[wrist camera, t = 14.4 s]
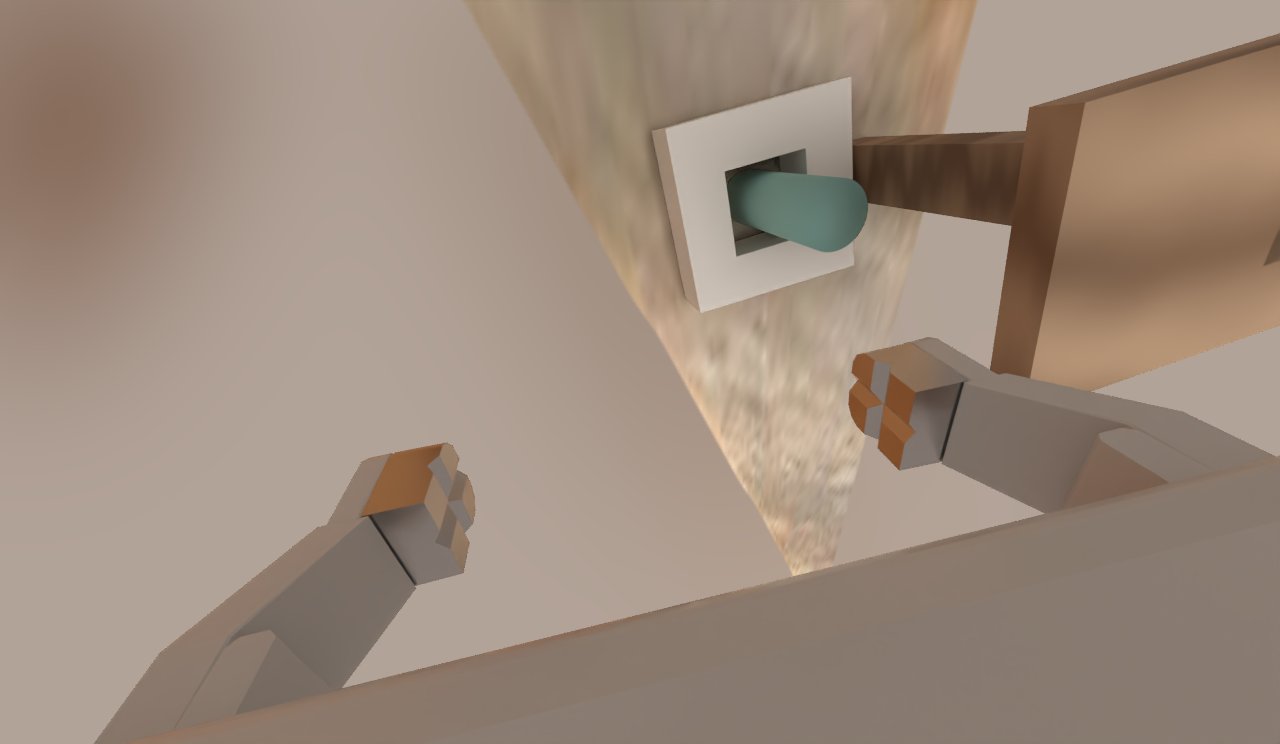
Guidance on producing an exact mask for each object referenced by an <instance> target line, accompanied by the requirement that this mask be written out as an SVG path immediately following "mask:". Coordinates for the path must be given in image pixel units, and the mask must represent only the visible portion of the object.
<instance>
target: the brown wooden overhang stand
mask: <svg viewBox="0 0 1280 744" xmlns="http://www.w3.org/2000/svg"><path fill="white" fill-rule="evenodd" d="M852 160H853V180H854V181H856V182H857V183H858V184H859V185H860V186H861V187H862V188H863V190H864V192H865V194H866V197H867V202H868V203H872V204H878V205H884V206H890V207H897V208H903V209H909V210H916V211H922V212H928V213H935V214H941V215H947V216H953V217H960V218H966V219H972V220H978V221H985V222H991V223H997V224H1003V225H1010V226H1012V227H1011V234H1010V240H1009V247H1008V254H1007V260H1006V267H1005V274H1004V281H1003V287H1002V294H1001V300H1000V307H999V314H998V321H997V327H996V334H995V340H994V347H993V354H992V361H991V367H990V370H991V371H993V372H994V373H996V374H998V375H999V374H1004V373H1008V374H1012V375H1017V376H1022V377H1026V378H1031V379H1035V380H1040V381H1044V382H1049V383H1054V384H1058V385H1063V386H1067V387H1072V388H1077V389H1081V390H1086V391H1093V390H1096V389H1099V388H1102V387H1105V386H1108V385H1111V384H1113V383H1116V382H1119V381H1122V380H1124V379H1128V378H1130V377H1133V376H1136V375H1139V374H1142V373H1145V372H1148V371H1150V370H1154V369H1156V368H1159V367H1162V366H1165V365H1168V364H1171V363H1174V362H1176V361H1179V360H1182V359H1185V358H1188V357H1191V356H1193V355H1197V354H1199V353H1202V352H1205V351H1208V350H1211V349H1214V348H1217V347H1220V346H1222V345H1225V344H1228V343H1231V342H1234V341H1237V340H1239V339H1242V338H1245V337H1248V336H1251V335H1254V334H1257V333H1260V332H1263V331H1265V330H1268V329H1271V328H1274V327H1277V326H1280V34H1276V35H1273V36H1270V37H1266V38H1263V39H1260V40H1256V41H1253V42H1249V43H1246V44H1243V45H1239V46H1236V47H1232V48H1229V49H1226V50H1222V51H1219V52H1216V53H1212V54H1209V55H1206V56H1202V57H1199V58H1195V59H1192V60H1189V61H1185V62H1182V63H1178V64H1175V65H1172V66H1168V67H1165V68H1161V69H1158V70H1155V71H1152V72H1148V73H1145V74H1141V75H1138V76H1135V77H1131V78H1128V79H1125V80H1121V81H1117V82H1114V83H1111V84H1107V85H1104V86H1101V87H1097V88H1094V89H1091V90H1087V91H1084V92H1080V93H1077V94H1073V95H1070V96H1067V97H1063V98H1060V99H1057V100H1053V101H1050V102H1046V103H1043V104H1040V105H1036V106H1033V107H1030V108H1029V114H1028V121H1027V127H1026V131H1012V132H986V133H960V134H934V135H908V136H882V137H864V138H860V139H857V140H853V141H852Z"/></svg>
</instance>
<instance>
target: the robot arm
mask: <svg viewBox="0 0 1280 744" xmlns="http://www.w3.org/2000/svg"><path fill="white" fill-rule="evenodd" d="M852 374H853V375H854V376H855V378H856V379H857V382H856V383H855V384H854V386H853V387H852V388H851V390H850V391H849V404H848V405H849V409H850V412H851V416H852V418H853V420H854V422H855V424H856V426H857V427H858V428H859V429H860V430H861V431H862V432H863V433H864V434H866V435H868V436H871V437H873V438H876V439H878V449H879V450H880V451H881V452H882V453H883V454H884V455H885V456H886V457H887V458H888V459H889V460H890V461H891V462H892V463H893V464H894V466H895V467H896V468H897V469H898V470H904V469H909V468H914V467H919V466H923V465H928V464H933V463H938V462H942V464H943V465H946V466H947V467H949V468H952V469H954V470H956V471H958V472H960V473H962V474H964V475H966V476H968V477H970V478H972V479H974V480H977V481H979V482H981V483H983V484H985V485H987V486H989V487H991V488H993V489H995V490H997V491H999V492H1002V493H1004V494H1006V495H1008V496H1010V497H1012V498H1014V499H1016V500H1018V501H1020V502H1022V503H1024V504H1026V505H1028V506H1031V507H1033V508H1035V509H1037V510H1039V511H1041V512H1043V513H1045V514H1043V515H1039V516H1035V517H1031V518H1027V519H1023V520H1019V521H1015V522H1011V523H1007V524H1003V525H998V526H994V527H990V528H987V529H983V530H979V531H974V532H970V533H967V534H962V535H958V536H954V537H950V538H946V539H942V540H938V541H934V542H930V543H926V544H922V545H918V546H914V547H910V548H906V549H902V550H898V551H894V552H890V553H886V554H882V555H878V556H874V557H870V558H866V559H862V560H858V561H853V562H849V563H846V564H842V565H838V566H833V567H829V568H825V569H821V570H817V571H813V572H809V573H805V574H801V575H797V576H793V577H789V578H785V579H781V580H777V581H773V582H769V583H765V584H761V585H757V586H753V587H749V588H745V589H741V590H737V591H733V592H729V593H725V594H720V595H716V596H713V597H709V598H704V599H700V600H696V601H693V602H688V603H684V604H680V605H676V606H672V607H668V608H664V609H660V610H656V611H652V612H648V613H644V614H640V615H636V616H632V617H628V618H624V619H620V620H616V621H612V622H608V623H603V624H599V625H596V626H591V627H587V628H583V629H579V630H576V631H571V632H567V633H563V634H559V635H555V636H551V637H547V638H543V639H539V640H535V641H531V642H527V643H523V644H519V645H515V646H511V647H507V648H503V649H499V650H495V651H491V652H487V653H483V654H479V655H475V656H470V657H467V658H462V659H459V660H455V661H451V662H446V663H442V664H438V665H434V666H431V667H427V668H422V669H418V670H414V671H410V672H406V673H402V674H398V675H394V676H390V677H386V678H382V679H378V680H374V681H370V682H366V683H362V684H358V685H354V686H350V687H346V688H342V687H343V686H344V684H345V683H346V682H347V680H348V679H349V678H350V676H351V675H352V674H353V672H354V671H355V670H356V668H357V667H358V666H359V664H360V663H361V662H362V660H363V659H364V658H365V656H366V655H367V654H368V652H369V651H370V650H371V648H372V647H373V646H374V644H375V643H376V642H377V640H378V639H379V637H380V636H381V635H382V633H383V632H384V631H385V629H386V628H387V626H388V625H389V624H390V623H391V621H392V620H393V619H394V617H395V616H396V615H397V613H398V612H399V610H400V609H401V608H402V607H403V605H404V604H405V602H406V601H407V600H408V598H409V597H410V596H411V594H412V593H413V592H414V590H415V589H416V587H415V586H417V585H420V584H424V583H428V582H431V581H436V580H439V579H443V578H447V577H451V576H454V575H458V574H462V573H464V568H465V562H466V558H467V553H468V547H469V540H468V538H467V536H466V534H465V532H466V531H467V530H468V529H469V527H470V526H471V525H472V524H473V522H474V516H475V496H474V493H473V489H472V485H471V483H470V480H469V478H468V476H467V475H465V474H464V473H462V472H460V471H458V470H457V465H458V462H459V457H458V455H457V453H456V451H455V449H454V447H453V445H450V444H448V443H442V444H437V445H431V446H426V447H421V448H416V449H411V450H406V451H401V452H396V453H394V454H392V453H390V454H386V455H382V456H377V457H372V458H368V459H367V460H365V461H362V462H361V464H360V466H359V467H358V469H357V471H356V473H355V474H354V476H353V478H352V480H351V482H350V483H349V485H348V487H347V489H346V491H345V493H344V494H343V496H342V498H341V500H340V502H339V503H338V505H337V507H336V509H335V511H334V513H333V514H332V516H331V518H330V520H329V522H328V524H327V525H325V526H321V527H317V528H316V529H315V530H313V531H312V532H311V533H310V534H308V535H307V536H306V537H305V538H304V539H302V540H301V541H300V542H298V543H297V544H296V545H294V546H293V547H292V548H291V549H289V550H288V551H287V552H286V553H284V554H283V555H282V556H281V557H279V558H278V559H277V560H276V561H275V562H273V563H272V564H271V565H269V566H268V567H267V568H266V569H264V570H263V571H262V572H261V573H259V574H258V575H257V576H256V577H254V578H253V579H252V580H251V581H250V582H248V583H247V584H246V585H244V586H243V587H242V588H241V589H239V590H238V591H237V592H236V593H234V594H233V595H232V596H231V597H229V598H228V599H227V600H226V601H224V602H223V603H222V604H221V605H219V606H218V607H217V608H216V609H214V610H213V611H212V612H211V613H210V614H208V615H207V616H206V617H204V618H203V619H202V620H201V621H199V622H198V623H197V624H196V625H194V626H193V627H192V628H191V629H189V630H188V631H187V632H185V633H184V634H183V635H182V636H180V637H179V638H178V639H177V640H175V641H174V642H173V643H172V644H170V645H169V646H168V647H167V648H165V649H164V650H163V651H162V652H160V654H159V655H158V656H157V657H156V659H155V660H154V662H153V663H152V664H151V666H150V667H149V669H148V670H147V671H146V673H145V674H144V675H143V677H142V678H141V680H140V681H139V682H138V684H137V685H136V687H135V688H134V689H133V691H132V692H131V693H130V695H129V696H128V697H127V699H126V700H125V702H124V703H123V704H122V706H121V707H120V708H119V710H118V711H117V713H116V714H115V715H114V717H113V718H112V719H111V721H110V722H109V724H108V725H107V726H106V728H105V729H104V730H103V732H102V733H101V735H100V736H99V737H98V739H97V740H96V741H95V743H94V744H1280V456H1278V457H1276V456H1274V455H1272V454H1270V453H1267V452H1265V451H1263V450H1261V449H1259V448H1257V447H1255V446H1253V445H1251V444H1249V443H1247V442H1245V441H1242V440H1241V439H1238V438H1236V437H1234V436H1232V435H1230V434H1228V433H1226V432H1224V431H1222V430H1220V429H1218V428H1216V427H1214V426H1211V425H1209V424H1207V423H1205V422H1203V421H1201V420H1199V419H1197V418H1195V417H1193V416H1190V415H1188V414H1187V413H1184V412H1182V411H1177V410H1173V409H1168V408H1164V407H1159V406H1154V405H1150V404H1145V403H1141V402H1136V401H1132V400H1127V399H1122V398H1117V397H1113V396H1108V395H1104V394H1099V393H1095V392H1090V391H1086V390H1081V389H1077V388H1072V387H1067V386H1063V385H1058V384H1054V383H1049V382H1044V381H1040V380H1035V379H1031V378H1026V377H1022V376H1017V375H1012V374H1008V373H1004V374H999V375H998V374H996V373H994V372H993V371H991V370H989V369H988V368H986V367H984V366H983V365H981V364H979V363H978V362H976V361H974V360H972V359H971V358H969V357H967V356H966V355H964V354H962V353H960V352H959V351H957V350H956V349H954V348H952V347H950V346H949V345H947V344H945V343H944V342H942V341H940V340H939V339H936V338H930V337H927V338H923V339H919V340H915V341H911V342H907V343H904V344H902V345H897V346H892V347H888V348H884V349H879V350H875V351H871V352H866V353H862V354H858V355H856V357H855V359H854V361H853V366H852Z"/></svg>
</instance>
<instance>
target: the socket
mask: <svg viewBox="0 0 1280 744" xmlns="http://www.w3.org/2000/svg"><path fill="white" fill-rule="evenodd" d="M651 132H652V137H653V142H654V147H655V152H656V157H657V162H658V167H659V171H660V176H661V181H662V186H663V191H664V196H665V201H666V206H667V211H668V215H669V220H670V225H671V230H672V235H673V240H674V245H675V250H676V255H677V259H678V264H679V269H680V274H681V279H682V284H683V289H684V294H685V299H686V300H688V301H689V302H690V303H691V304H692V305H693V306H694V307H695V308H696V309H697V310H698V311H699V312H700V313H703V312H707V311H710V310H713V309H716V308H719V307H722V306H726V305H729V304H732V303H735V302H738V301H742V300H745V299H748V298H751V297H754V296H758V295H761V294H764V293H767V292H770V291H774V290H777V289H780V288H783V287H786V286H789V285H793V284H796V283H799V282H802V281H805V280H809V279H812V278H815V277H818V276H821V275H825V274H828V273H831V272H834V271H837V270H841V269H844V268H847V267H850V266H853V265H854V240H853V241H852V242H851V243H850V244H849V245H847V246H846V247H844V248H842V249H840V250H838V251H834V252H821V251H818V250H815V249H812V248H809V247H806V246H804V245H801V244H798V243H795V242H792V241H790V240H787V239H784V238H781V237H778V236H776V235H773V234H770V233H767V232H764V233H761V234H758V235H754V236H751V237H748V238H745V239H741V240H738V241H735V242H734V235H733V228H732V221H731V214H730V207H729V200H728V193H727V186H726V178H725V171H728V170H732V169H735V168H739V167H742V166H746V165H749V164H752V163H756V162H759V161H763V160H766V159H770V158H773V157H776V156H779V160H780V172H785V173H796V174H807V175H818V176H830V177H841V178H849V179H852V180H853V160H852V91H851V77H847V78H842V79H838V80H834V81H829V82H825V83H821V84H817V85H813V86H810V87H806V88H803V89H799V90H795V91H792V92H788V93H785V94H781V95H778V96H774V97H770V98H767V99H763V100H760V101H756V102H753V103H749V104H746V105H742V106H738V107H735V108H731V109H728V110H724V111H721V112H717V113H714V114H710V115H706V116H703V117H699V118H696V119H692V120H689V121H685V122H682V123H678V124H674V125H671V126H667V127H664V128H660V129H657V130H653V131H651Z"/></svg>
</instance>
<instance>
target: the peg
mask: <svg viewBox="0 0 1280 744" xmlns="http://www.w3.org/2000/svg"><path fill="white" fill-rule="evenodd" d="M727 193H728V200H729V207H730V214H731V218H732V219H733V220H734V221H736V222H739V223H742V224H745V225H747V226H750V227H753V228H756V229H759V230H761V231H764V232H767V233H770V234H773V235H776V236H778V237H781V238H784V239H787V240H790V241H792V242H795V243H798V244H801V245H804V246H806V247H809V248H812V249H815V250H818V251H821V252H834V251H838V250H840V249H842V248H844V247H846V246H847V245H849V244H850V243H851V242H852V241H853V240H854V239H855V238H856V237H857V236H858V234H859V233H860V231H861V229H862V228H863V226H864V223H865V220H866V217H867V211H868V202H867V197H866V194H865V192H864V190H863V188H862V187H861V186H860V185H859V184H858V183H857V182H856V181H854V180H852V179H849V178H841V177H830V176H818V175H807V174H796V173H785V172H774V171H762V170H751V169H750V170H744V171H741V172H739V173H737V174H736V175H735V176H734V177H733V178H732V179H731V180H730V181H729V183H728V185H727Z"/></svg>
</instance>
